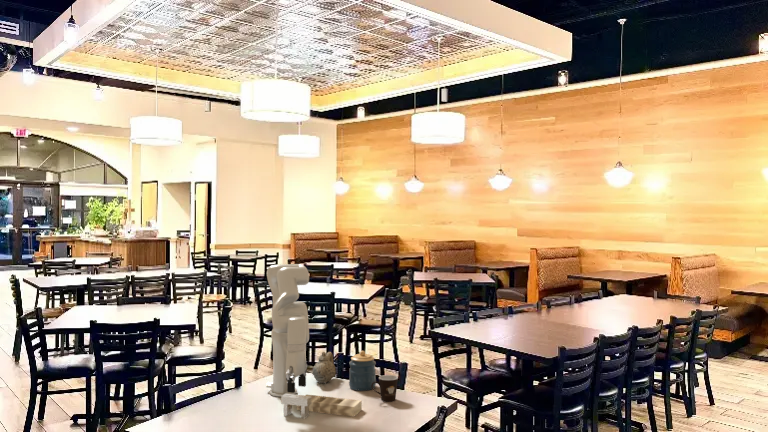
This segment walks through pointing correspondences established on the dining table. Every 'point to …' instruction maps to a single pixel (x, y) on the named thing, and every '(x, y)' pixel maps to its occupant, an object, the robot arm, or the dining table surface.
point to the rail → (334, 405)
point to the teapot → (324, 368)
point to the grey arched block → (296, 403)
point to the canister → (362, 372)
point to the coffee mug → (387, 387)
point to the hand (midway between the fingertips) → (296, 389)
